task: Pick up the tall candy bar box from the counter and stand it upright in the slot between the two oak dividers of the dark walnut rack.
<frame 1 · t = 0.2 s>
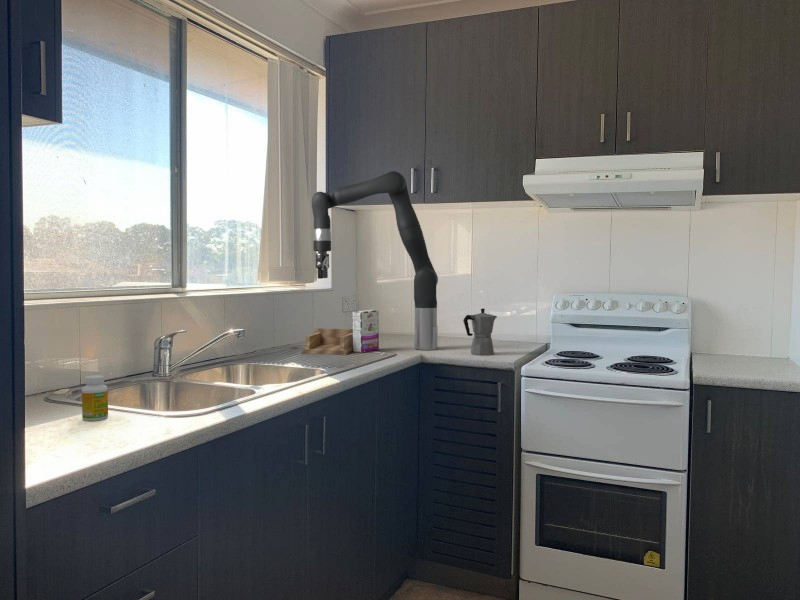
hand: (322, 278, 283), 29 cm above the worktop, tool pointing down, fingers open, 8 cm apart
candy bar box: (365, 351, 271), on the worktop
walnut rack: (330, 350, 271), on the worktop
supplement bottle: (95, 419, 153), on the worktop
coffeepot: (479, 354, 263), on the worktop
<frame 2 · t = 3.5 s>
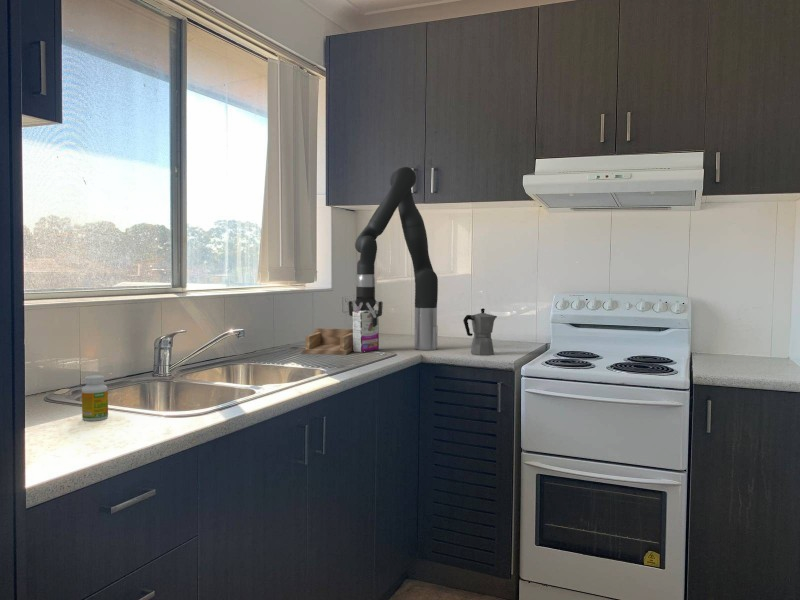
hand: (365, 326, 271), 10 cm above the worktop, tool pointing down, fingers closed on candy bar box, 6 cm apart
candy bar box: (365, 351, 271), on the worktop, touching gripper
everything else where it was.
when the fingers open (13 cm above the worktop, at t = 10.3 s): candy bar box drops 1 cm, resting on walnut rack.
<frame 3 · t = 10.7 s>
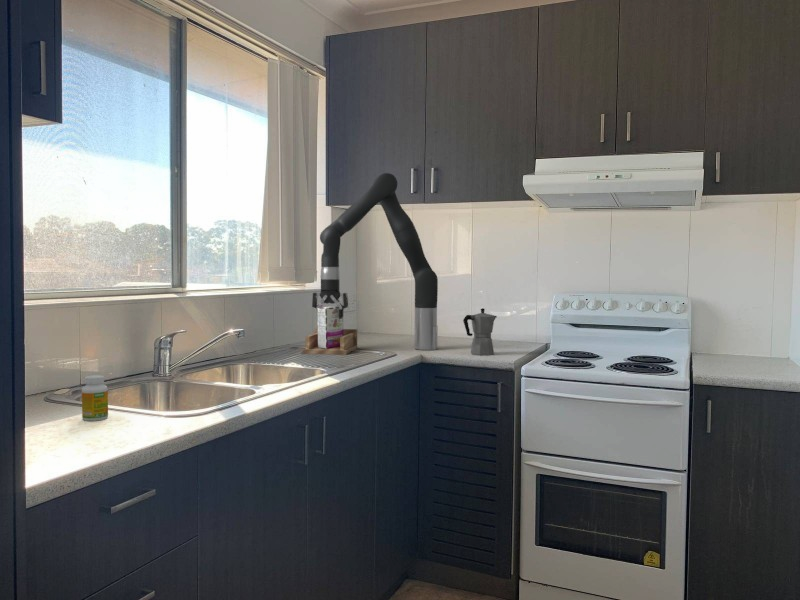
hand: (330, 318, 270), 13 cm above the worktop, tool pointing down, fingers open, 8 cm apart
candy bar box: (330, 347, 271), point 1 cm above the worktop, touching walnut rack
everything else where it was.
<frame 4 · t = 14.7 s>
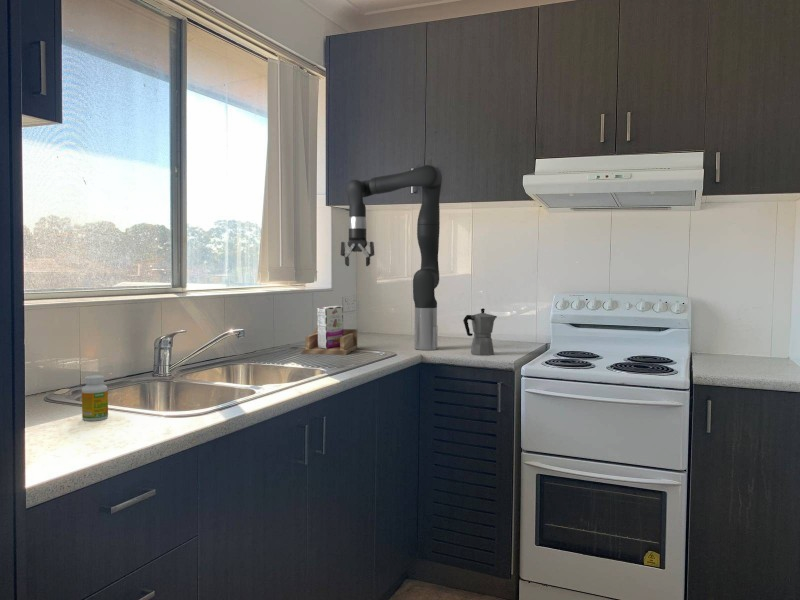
hand: (357, 266, 285), 34 cm above the worktop, tool pointing down, fingers open, 8 cm apart
nothing on the worktop moved.
at the end: candy bar box 0.2 cm off-centre on the walnut rack, point 1.3 cm above the walnut rack's base; candy bar box tilted 0°; the gripper is holding nothing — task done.
